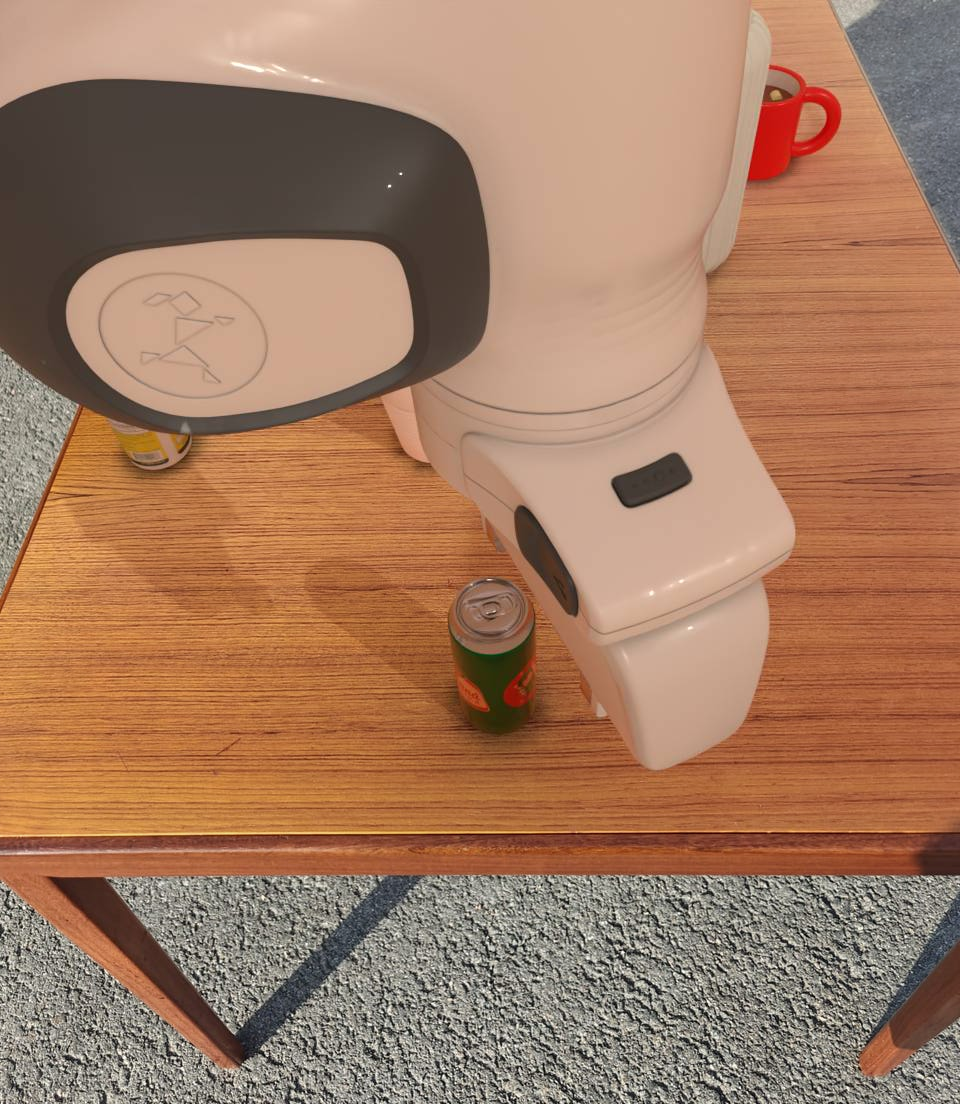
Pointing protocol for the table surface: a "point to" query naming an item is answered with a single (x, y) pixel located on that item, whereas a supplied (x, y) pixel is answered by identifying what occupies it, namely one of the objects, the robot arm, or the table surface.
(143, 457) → the supplement bottle
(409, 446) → the cup
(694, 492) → the robot arm
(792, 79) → the mug
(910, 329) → the table surface
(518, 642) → the soda can
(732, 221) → the vase
